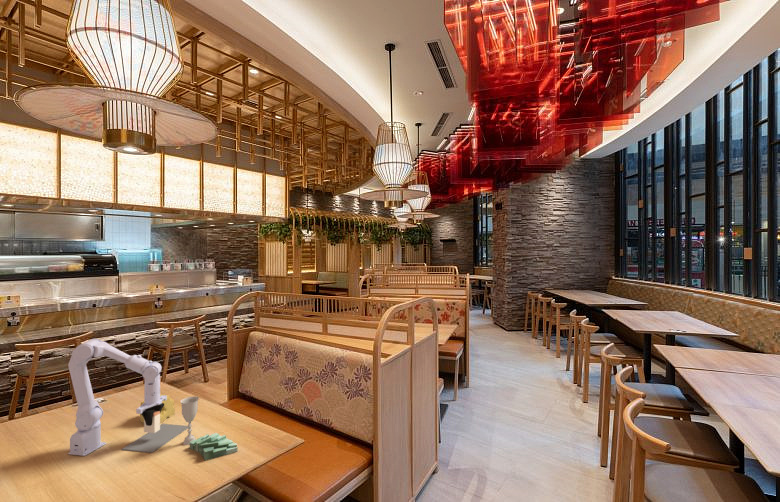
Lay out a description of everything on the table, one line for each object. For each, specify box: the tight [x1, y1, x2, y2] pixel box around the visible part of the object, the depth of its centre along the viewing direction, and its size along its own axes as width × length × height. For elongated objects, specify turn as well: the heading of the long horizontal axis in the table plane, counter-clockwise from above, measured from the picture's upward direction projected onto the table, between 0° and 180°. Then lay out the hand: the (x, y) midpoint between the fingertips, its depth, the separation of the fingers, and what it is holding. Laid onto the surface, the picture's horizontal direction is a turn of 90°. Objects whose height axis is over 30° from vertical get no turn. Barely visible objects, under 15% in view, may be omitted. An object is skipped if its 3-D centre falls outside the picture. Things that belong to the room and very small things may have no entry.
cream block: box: [143, 411, 161, 433], centre depth 158 cm, size 3×5×8 cm, turn 82°
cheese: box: [139, 393, 176, 424], centre depth 178 cm, size 10×11×10 cm
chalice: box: [179, 395, 200, 446], centre depth 156 cm, size 7×7×18 cm
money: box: [189, 432, 239, 461], centre depth 151 cm, size 20×16×5 cm
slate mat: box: [121, 423, 188, 454], centre depth 160 cm, size 22×14×1 cm, turn 172°
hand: (152, 423), depth 158 cm, fingers closed on cream block, 3 cm apart
